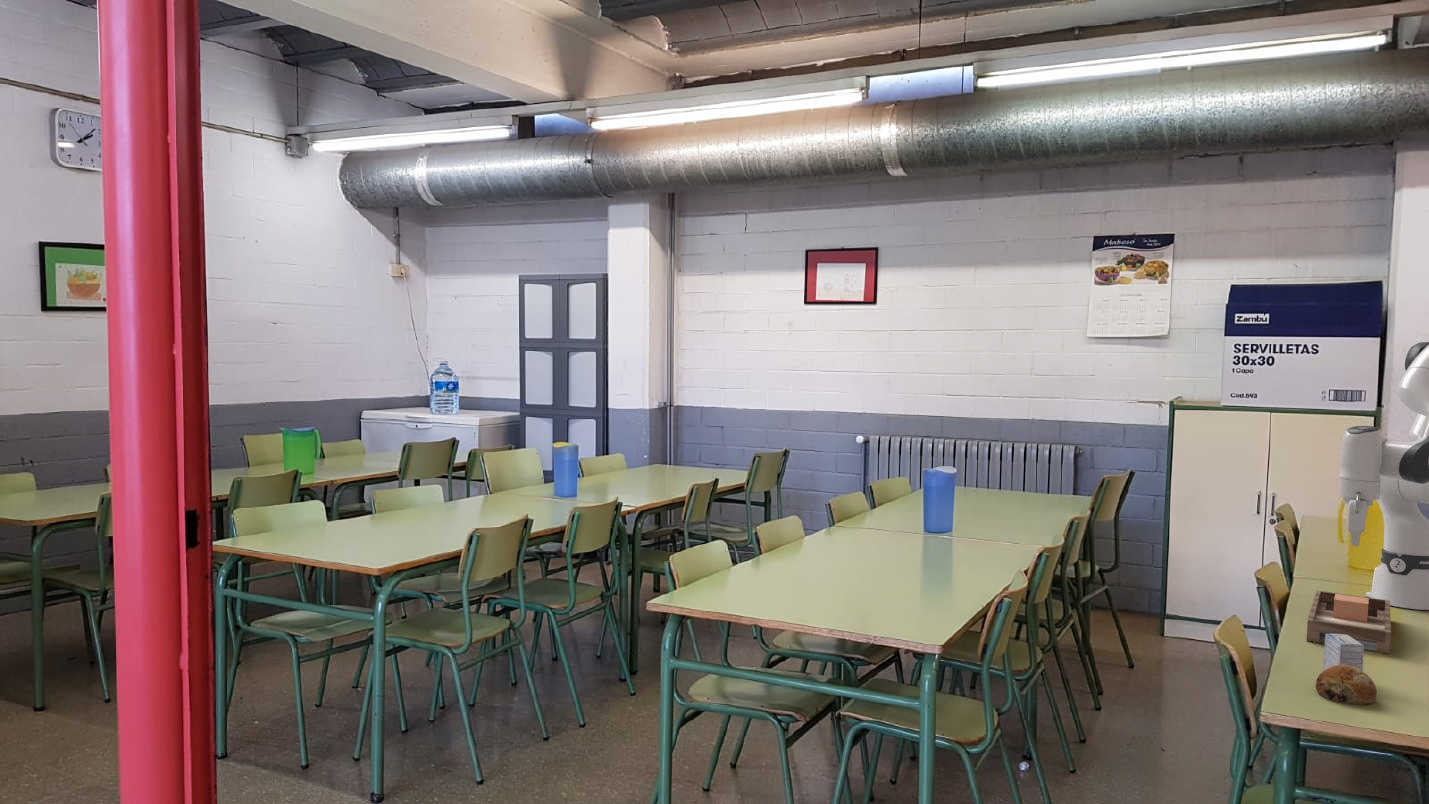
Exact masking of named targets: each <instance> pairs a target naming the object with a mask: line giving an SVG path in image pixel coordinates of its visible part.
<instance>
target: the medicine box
mask: <svg viewBox="0 0 1429 804" xmlns="http://www.w3.org/2000/svg"><path fill="white" fill-rule="evenodd" d="M1364 653H1365V650H1364V646H1363V645H1362V644H1361V643H1359V642H1358V641H1356V640H1355V639H1353V638H1352V637H1350V636H1348V635H1344V634H1326V635H1325V644H1324V654H1323V671H1324V670H1326V669H1328V668H1330V667H1332V666H1336V665H1343V664H1344V665H1350V666H1354V667H1356V668H1359V669H1360V670H1362V671H1363V672H1364ZM1323 671H1322V672H1323Z"/></svg>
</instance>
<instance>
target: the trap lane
mask: <svg viewBox="0 0 1429 804" xmlns="http://www.w3.org/2000/svg"><path fill="white" fill-rule="evenodd" d="M1335 594H1340V595H1348V596H1355V597H1362V598H1369V602H1368V617H1367V622H1360V621H1354V620H1347V619H1340V618H1333V610H1334V598H1335ZM1391 624H1392V621H1391V605H1390V600H1382V599H1375V598H1370V597H1368V596H1358V595H1352V594H1345V593H1337V592H1328V591H1322V590H1315V594H1314V597H1313V601H1312V604H1311V608H1310V610H1309V615H1308V617H1307V624H1306V625H1307V627H1306V640H1307V641H1306V642H1310V641H1313V642H1312V643H1316V642H1318V643H1317V644H1322V643H1324V645H1325V635H1326V634H1344V635H1348V636H1350V637H1352V638H1353V639H1355V640H1356V641H1358V642H1359V643H1361V644H1362V645H1363V646H1364V652H1365V651H1367V652H1372V653H1378V652H1379V654H1384V653H1385V654H1386V655H1390V654H1391V653H1390V652H1391V638H1392V635H1391V634H1392V627H1391V626H1392V625H1391Z"/></svg>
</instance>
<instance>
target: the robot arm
mask: <svg viewBox="0 0 1429 804" xmlns="http://www.w3.org/2000/svg"><path fill="white" fill-rule="evenodd" d="M1408 349H1409V350H1408V351H1407V353H1406V356H1405V358H1404V359H1405V360H1404V370H1405V371H1404V374H1403V375H1402V377H1401V379H1400V380H1399V382H1398V386H1397V394H1398V397H1399V399H1400V402H1402V403H1403V404H1404V406H1405V407H1406V408H1408V409H1409V410H1411V411H1412V412H1414V413H1416V417H1415V419H1414V420H1413V423H1412V425H1411V426H1410V427H1411V428H1410V430H1409V432H1408V435H1407V436H1408V439H1409V441H1404V440H1393V439H1389V438H1387V437H1385V436H1383V435H1382V430H1381V428H1379V427H1376V426H1372V425H1361V426H1360V425H1356V426H1351V427H1348V428H1347V429H1346V430H1345V431H1344V434H1343V436H1342V442H1341V446H1340V454H1339V455H1340V456H1339V463H1340V467H1341V468H1340V472H1339V475H1338V485H1337V486H1338V487H1337V488H1338V489H1337V496H1338V497H1341V498H1343V500H1342V503H1343V504H1346V505H1347V524H1346V525H1347V526H1346V529H1347V532H1350V536H1351V537H1350V539H1351V540H1350V544H1351V546H1353V547H1359V546H1360V545H1361V535H1362V533H1365V529H1366V521H1367V516H1368V512H1369V508H1370V507H1371V506H1374V501H1376V502H1377V503H1378V505H1379V508H1380V511H1381V514H1382V518H1383V529H1384V531H1383V548H1382V549H1381V552H1380V562H1381V563H1380V564H1379V565H1378V566H1376V567H1375V568H1374V573H1373V579H1372V586H1371V591H1366V592H1365V597H1368V598H1375V599H1382V600H1390V607H1391V606H1393V607H1397V608H1402V609H1410V610H1423V611H1425V610H1426V611H1429V519H1428V518H1427V517H1426V516H1425V515H1424V514H1422V512H1421V510H1420V508H1419V506H1418V503H1421V504H1427V505H1429V341H1423V342H1422V341H1420V342H1417V343H1415V344H1413V345H1412V346H1411V347H1410V348H1408Z"/></svg>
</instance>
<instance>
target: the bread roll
mask: <svg viewBox="0 0 1429 804" xmlns="http://www.w3.org/2000/svg"><path fill="white" fill-rule="evenodd" d="M1315 690H1316V693H1318V695H1320V696H1321V697H1323V698H1326V699H1329V700H1331V701H1333V702H1339V703H1345V704H1350V705H1360V706H1362V705H1363V706H1364V705H1368V704H1369V705H1370V704H1373V703H1374V702H1376V700H1377V694H1378V692H1377V691H1378V690H1377V687H1376V685H1375V683H1374V681H1373V679H1372V678H1371V677H1370V676H1369V675H1368V674H1367V672H1365V671H1364V670H1363V671H1362V670H1360V669H1359V668H1356V667H1354V666H1350V665H1344V664H1343V665H1336V666H1332V667H1330V668H1328V669H1326V670H1324V671H1322V672H1321V673H1319V675H1318V676H1317V679H1316V682H1315Z"/></svg>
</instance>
